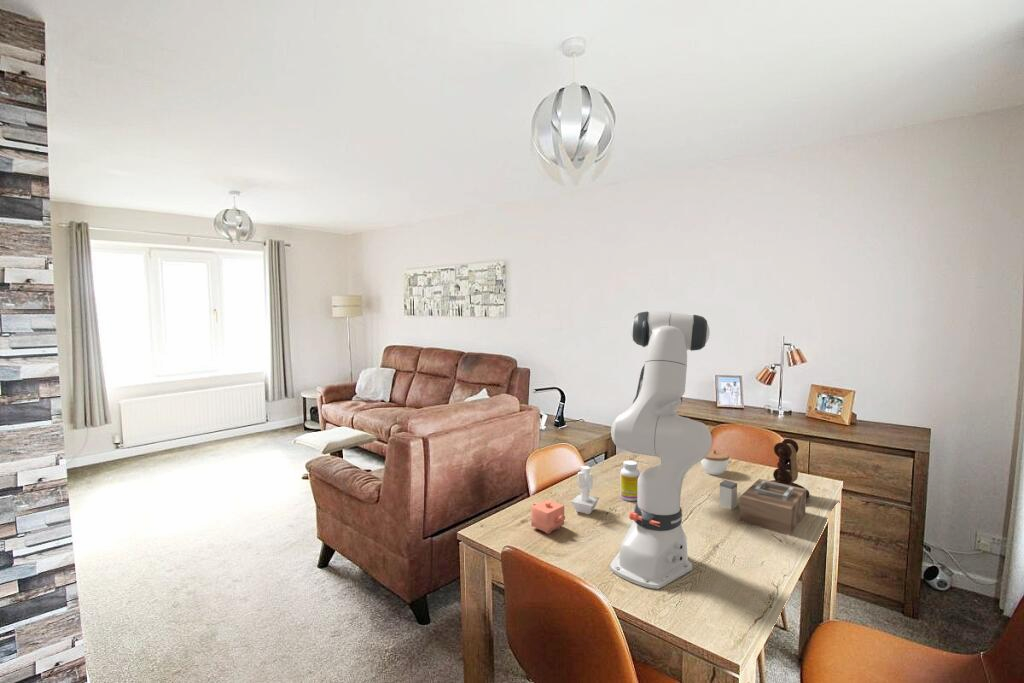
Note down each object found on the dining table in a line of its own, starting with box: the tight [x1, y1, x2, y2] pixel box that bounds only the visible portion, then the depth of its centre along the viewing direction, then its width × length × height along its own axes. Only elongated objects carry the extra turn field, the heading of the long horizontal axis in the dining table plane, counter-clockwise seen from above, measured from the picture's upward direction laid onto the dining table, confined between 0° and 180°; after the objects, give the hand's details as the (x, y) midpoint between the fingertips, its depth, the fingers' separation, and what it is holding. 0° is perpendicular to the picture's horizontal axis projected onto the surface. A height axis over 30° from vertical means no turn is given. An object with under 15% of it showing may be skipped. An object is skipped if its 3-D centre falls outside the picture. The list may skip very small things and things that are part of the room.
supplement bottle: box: [619, 460, 641, 502], centre depth 165 cm, size 7×7×13 cm
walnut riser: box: [739, 478, 807, 536], centre depth 149 cm, size 20×14×10 cm
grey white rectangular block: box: [718, 479, 738, 510], centre depth 158 cm, size 4×4×8 cm
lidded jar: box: [700, 449, 730, 476], centre depth 189 cm, size 11×11×9 cm
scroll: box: [770, 438, 810, 500], centre depth 165 cm, size 15×15×20 cm
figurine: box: [570, 465, 600, 515], centre depth 155 cm, size 7×9×15 cm
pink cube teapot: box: [530, 499, 566, 535], centre depth 143 cm, size 8×12×8 cm, turn 45°
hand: (697, 459), depth 166 cm, fingers open, 8 cm apart
